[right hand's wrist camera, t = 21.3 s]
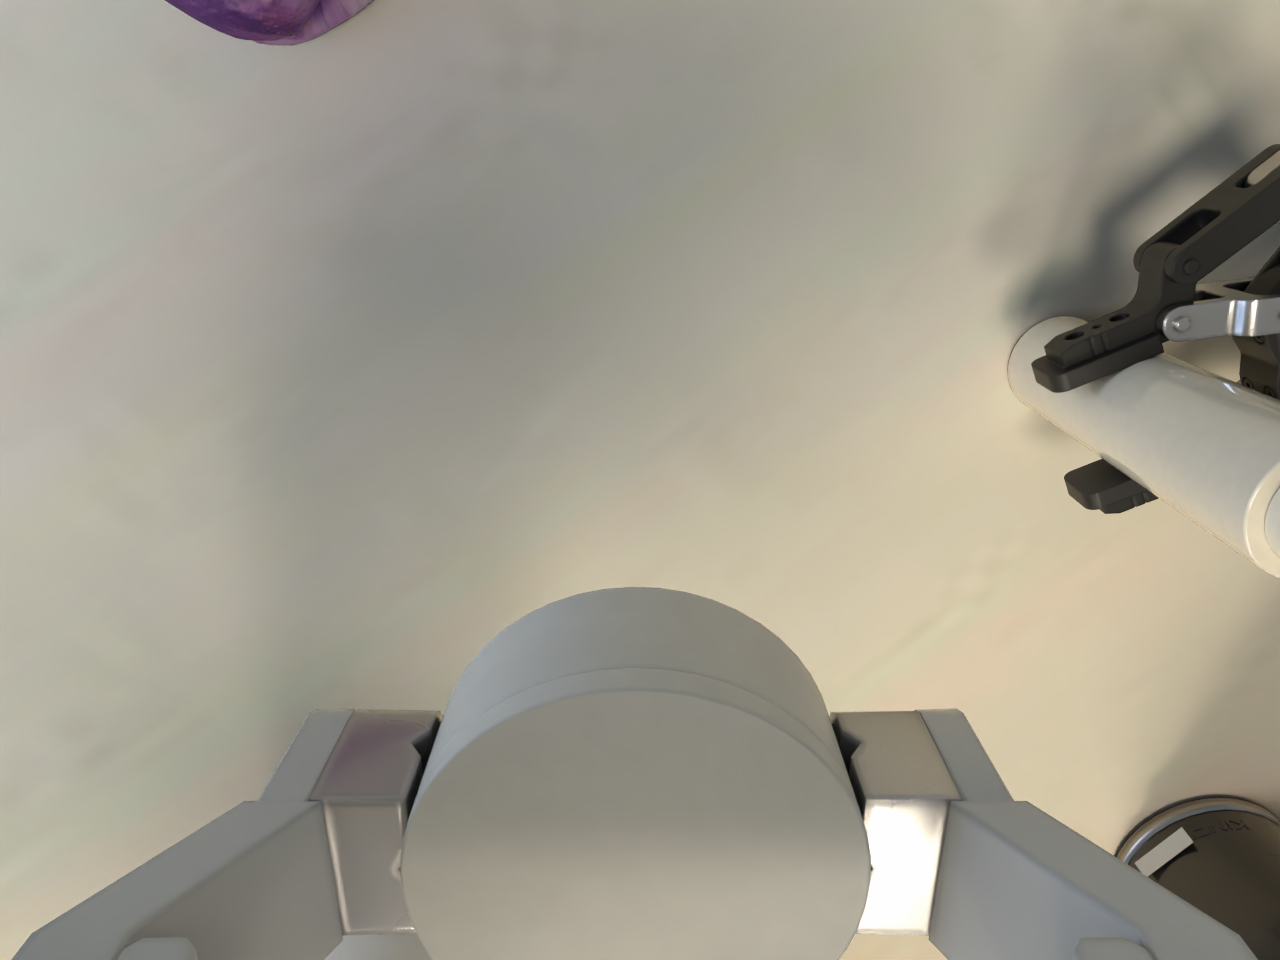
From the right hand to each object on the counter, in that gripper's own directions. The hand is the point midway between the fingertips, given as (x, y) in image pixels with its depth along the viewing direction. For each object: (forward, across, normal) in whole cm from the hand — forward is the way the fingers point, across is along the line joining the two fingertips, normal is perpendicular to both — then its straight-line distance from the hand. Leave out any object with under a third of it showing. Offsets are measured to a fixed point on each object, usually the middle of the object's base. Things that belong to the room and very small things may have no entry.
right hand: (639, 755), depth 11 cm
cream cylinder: (+29, +18, -2) cm, 34 cm away
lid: (-2, 0, 0) cm, 2 cm away
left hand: (+22, +16, -3) cm, 27 cm away
